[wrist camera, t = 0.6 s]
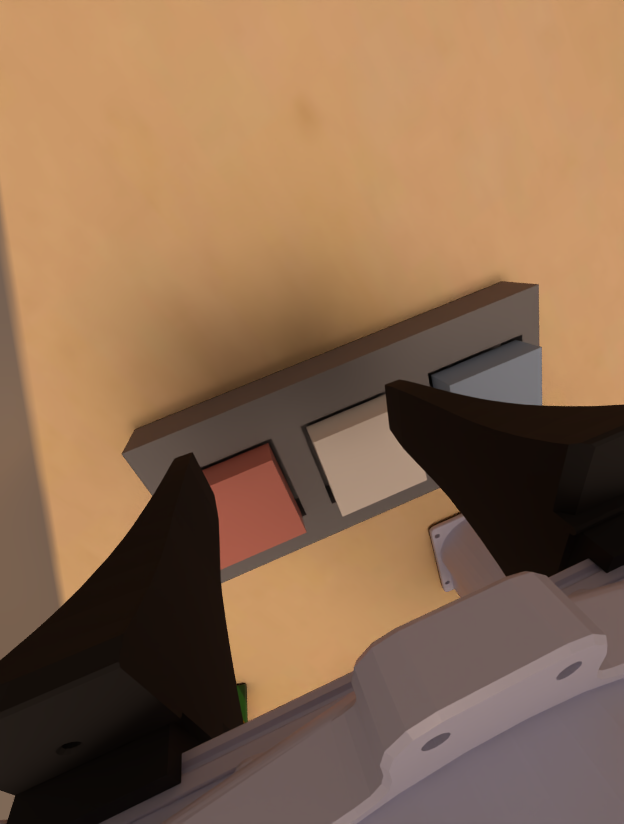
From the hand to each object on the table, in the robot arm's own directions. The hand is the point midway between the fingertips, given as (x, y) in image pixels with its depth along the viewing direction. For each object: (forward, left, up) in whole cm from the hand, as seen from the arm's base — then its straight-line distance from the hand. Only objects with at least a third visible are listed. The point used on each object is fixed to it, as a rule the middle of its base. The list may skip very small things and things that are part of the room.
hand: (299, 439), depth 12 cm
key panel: (-7, -4, -10) cm, 13 cm away
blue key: (-7, -12, -8) cm, 16 cm away
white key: (-7, -4, -8) cm, 11 cm away
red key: (-7, +5, -8) cm, 11 cm away
